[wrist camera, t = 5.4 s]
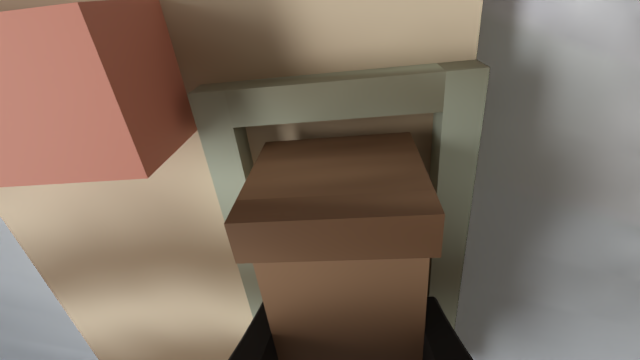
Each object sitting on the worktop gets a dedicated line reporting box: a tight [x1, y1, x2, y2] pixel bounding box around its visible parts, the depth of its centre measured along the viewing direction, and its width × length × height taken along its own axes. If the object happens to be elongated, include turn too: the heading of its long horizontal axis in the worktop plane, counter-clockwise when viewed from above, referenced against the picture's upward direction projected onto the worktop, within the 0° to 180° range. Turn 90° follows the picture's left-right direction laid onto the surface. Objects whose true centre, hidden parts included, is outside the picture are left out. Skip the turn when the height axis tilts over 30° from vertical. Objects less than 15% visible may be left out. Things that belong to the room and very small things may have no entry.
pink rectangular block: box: [0, 0, 197, 187], centre depth 9 cm, size 4×8×3 cm, turn 96°
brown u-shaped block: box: [224, 132, 445, 360], centre depth 10 cm, size 11×4×4 cm, turn 6°
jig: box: [0, 0, 490, 360], centre depth 13 cm, size 20×16×2 cm
